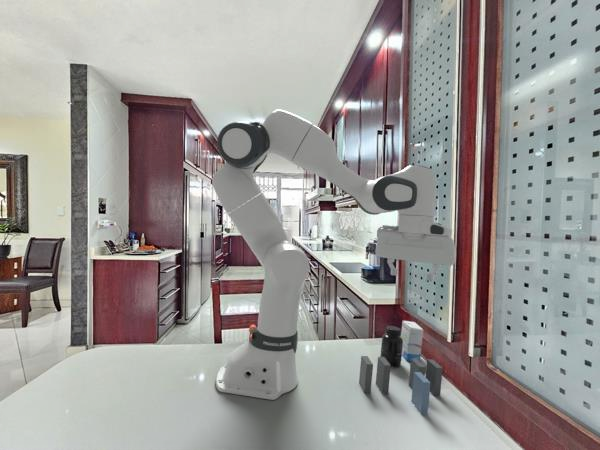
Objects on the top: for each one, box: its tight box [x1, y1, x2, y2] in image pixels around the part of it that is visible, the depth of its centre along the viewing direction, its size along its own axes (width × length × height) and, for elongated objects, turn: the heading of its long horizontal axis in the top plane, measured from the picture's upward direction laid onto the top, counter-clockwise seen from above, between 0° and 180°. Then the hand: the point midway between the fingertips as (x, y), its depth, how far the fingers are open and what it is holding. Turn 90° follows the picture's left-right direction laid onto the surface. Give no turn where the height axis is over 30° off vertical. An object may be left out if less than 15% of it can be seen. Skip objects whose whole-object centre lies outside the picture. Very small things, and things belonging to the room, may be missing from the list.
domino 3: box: [408, 358, 427, 390], centre depth 83 cm, size 2×5×8 cm, turn 5°
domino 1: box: [358, 355, 374, 394], centre depth 82 cm, size 2×5×8 cm, turn 5°
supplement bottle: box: [379, 325, 403, 368], centre depth 99 cm, size 7×7×12 cm
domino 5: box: [425, 358, 443, 397], centre depth 84 cm, size 2×5×8 cm, turn 5°
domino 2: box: [375, 356, 392, 395], centre depth 83 cm, size 2×5×8 cm, turn 5°
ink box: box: [400, 320, 424, 362], centre depth 106 cm, size 9×5×12 cm, turn 179°
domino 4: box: [410, 372, 431, 415], centre depth 75 cm, size 2×5×8 cm, turn 5°
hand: (411, 277), depth 79 cm, fingers open, 8 cm apart
